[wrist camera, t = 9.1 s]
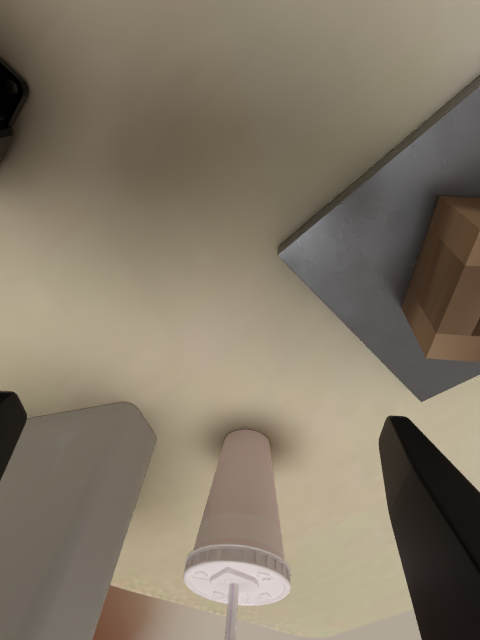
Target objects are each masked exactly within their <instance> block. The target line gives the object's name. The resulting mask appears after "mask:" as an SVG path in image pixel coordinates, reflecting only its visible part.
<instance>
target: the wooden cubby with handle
mask: <svg viewBox="0 0 480 640" xmlns="http://www.w3.org/2000/svg"><path fill="white" fill-rule="evenodd" d="M402 311H403V313H404V315H405V317H406V319H407V321H408V323H409V325H410V327H411V329H412V331H413V333H414V335H415V337H416V339H417V341H418V343H419V345H420V347H421V349H422V351H423V353H424V355H425V357H426V358H429V359H443V360H457V361H471V362H480V197H454V196H439V198H438V201H437V204H436V207H435V210H434V213H433V216H432V219H431V222H430V225H429V228H428V231H427V234H426V237H425V240H424V243H423V246H422V249H421V252H420V255H419V258H418V261H417V264H416V267H415V270H414V273H413V276H412V279H411V282H410V285H409V288H408V291H407V294H406V297H405V300H404V303H403V306H402Z"/></svg>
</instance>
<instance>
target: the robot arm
mask: <svg viewBox="0 0 480 640" xmlns="http://www.w3.org/2000/svg"><path fill="white" fill-rule="evenodd" d="M12 81H13V82H14V83H15V84H16V86H17V93H15V92H14V91H13V89H12V87H11V82H12ZM28 93H29V91H28V86H27V83H26V81H25V80H24V79H23V78H22V77H21V76H20V75H19V74H18V73H17V72H16V71H15V70H14V69H13V68H12V67H11V66H10V65H9V64H7V63H6V62H5V61H4V60H3V59H2V58H1V57H0V161H1V159H2V157H3V156H4V154H5V152H6V150H7V148H8V146H9V144H10V142H11V141H12V139H13V137H14V133H13V128H12V126H13V124H14V122H15V120H16V118H17V116H18V114H19V112H20V110H21V108H22V106H23V104H24V103H25V101H26V99H27V97H28ZM26 420H27V413H26V411H25V409H24V407H23V405H22V403H21V401H20V399H19V397H18V395H17V394H16V393H15V392H12V391H0V481H1V479H2V476H3V474H4V472H5V470H6V468H7V465H8V463H9V461H10V458H11V456H12V454H13V452H14V449H15V447H16V445H17V442H18V440H19V438H20V435H21V433H22V431H23V429H24V426H25V424H26ZM379 451H380V458H381V465H382V472H383V478H384V485H385V492H386V498H387V505H388V510H389V515H390V520H391V524H392V528H393V532H394V535H395V539H396V543H397V547H398V551H399V554H400V558H401V562H402V566H403V570H404V574H405V577H406V581H407V585H408V589H409V593H410V596H411V600H412V604H413V608H414V612H415V615H416V619H417V623H418V626H419V631H420V634H421V638H422V640H480V492H479V491H478V490H477V489H476V488H475V487H474V486H473V485H472V484H471V483H470V482H469V481H468V480H467V479H466V478H465V477H464V475H463V474H462V473H461V472H460V471H459V470H458V469H457V468H456V467H455V466H454V465H453V464H452V463H451V462H450V461H449V460H448V459H447V458H446V457H445V456H444V455H443V454H442V453H441V452H440V451H439V450H438V449H437V447H436V446H435V445H434V444H433V443H432V442H431V441H430V440H429V439H428V438H427V437H426V436H425V435H424V434H423V433H422V432H421V431H420V430H419V429H418V428H417V427H416V426H415V425H414V424H413V423H412V422H411V420H409V419H408V418H407V417H404V416H388V417H387V418H386V420H385V423H384V426H383V429H382V431H381V434H380V437H379Z"/></svg>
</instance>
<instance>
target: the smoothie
mask: <svg viewBox="0 0 480 640" xmlns="http://www.w3.org/2000/svg"><path fill="white" fill-rule="evenodd" d="M185 564H186V565H185V571H184V577H183V579H184V582H185V584H186V585H187V586H188V587H189V589H191V590H192V591H193V592H195V593H196V594H198V595H200V596H202V597H205V598H207V599H210V600H213V601H217V602H221V603H226V604H228V606H227V618H226V629H225V640H235V637H236V623H237V608H238V605H243V606H256V605H265V604H270V603H274V602H277V601H279V600H281V599H283V598H284V597H286V596H287V595H288V594H289V592H290V588H291V587H290V576H291V568H290V566H289V565H288V563H287V562H286V561H285V560H284V552H283V543H282V535H281V528H280V521H279V513H278V505H277V497H276V489H275V482H274V474H273V466H272V458H271V450H270V443H269V440H268V439H267V438H266V437H265V436H264V435H263V434H261V433H259V432H257V431H254V430H248V429H242V430H236V431H233V432H231V433H229V434H228V435H227V436H226V438H225V440H224V444H223V447H222V451H221V454H220V458H219V461H218V465H217V468H216V472H215V475H214V479H213V482H212V486H211V489H210V493H209V496H208V500H207V504H206V507H205V511H204V514H203V518H202V521H201V525H200V528H199V531H198V535H197V539H196V543H195V546H194V550H193V551H191V552H190V553H189V554H188V555H187V557H186V561H185Z"/></svg>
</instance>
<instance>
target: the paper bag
mask: <svg viewBox="0 0 480 640" xmlns="http://www.w3.org/2000/svg"><path fill="white" fill-rule="evenodd" d="M155 444H156V435H155V433H154V432H153V430H152V429H151V427H150V426H149V424H148V423H147V421H146V420H145V418H144V417H143V416H142V414H141V413H140V411H139V410H138V408H137V407H136V406H134V405H133V404H131V403H128V402H120V403H114V404H109V405H103V406H97V407H91V408H86V409H80V410H74V411H69V412H63V413H57V414H51V415H46V416H40V417H34V418H29V419H27V420H26V424H25V426H24V429H23V431H22V433H21V435H20V438H19V440H18V442H17V445H16V447H15V449H14V452H13V454H12V456H11V458H10V461H9V463H8V465H7V468H6V470H5V472H4V474H3V476H2V479H1V481H0V640H92V638H93V635H94V632H95V629H96V626H97V623H98V620H99V617H100V613H101V610H102V607H103V604H104V601H105V598H106V595H107V592H108V589H109V586H110V583H111V580H112V577H113V573H114V570H115V567H116V564H117V561H118V558H119V555H120V552H121V549H122V546H123V543H124V539H125V536H126V533H127V530H128V527H129V524H130V521H131V518H132V515H133V512H134V509H135V505H136V502H137V499H138V496H139V493H140V490H141V487H142V484H143V481H144V478H145V475H146V471H147V468H148V465H149V462H150V459H151V456H152V453H153V450H154V447H155Z"/></svg>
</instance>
